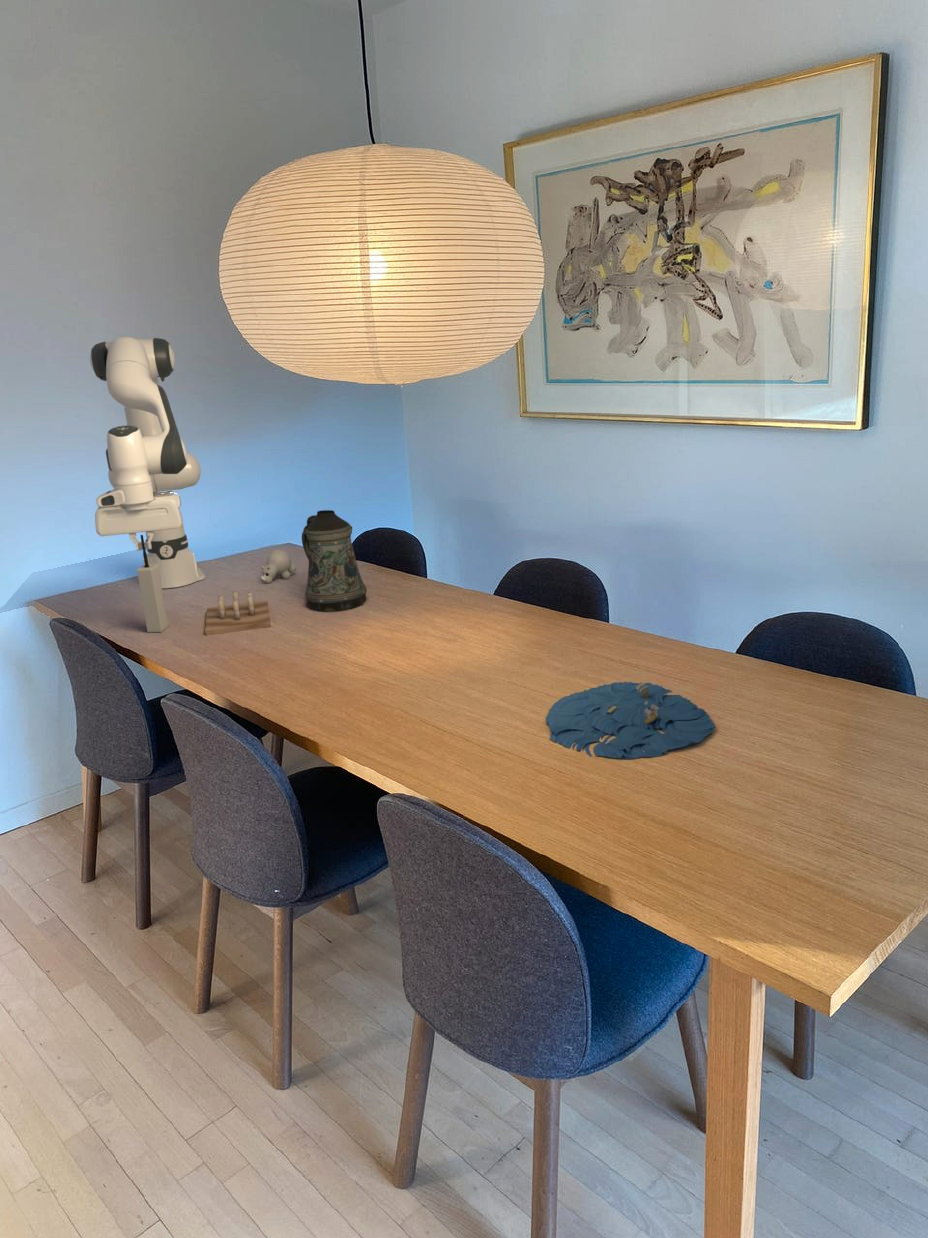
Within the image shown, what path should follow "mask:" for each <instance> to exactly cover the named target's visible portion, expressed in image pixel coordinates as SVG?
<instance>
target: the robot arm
mask: <svg viewBox="0 0 928 1238" xmlns="http://www.w3.org/2000/svg"><path fill="white" fill-rule="evenodd" d="M90 351H91V352H90V357H89V361H90V366H91V369H92V371H93V372H94V374H95V376H96V377H97V378H98V379H99V380H101V381H104V382H106V385H107V390H108V392H109V395H110V396H111V397H112V399H113V400H114V401H116V402H117V403H119V404H120V405H121V406H123V409H124V413H125V414H124V415H125V421H126V425H120V426H116V427H115V426H114V427H112V428H110V429H109V430H108V431H107V433H106V437H107V438H106V441H107V442H106V444H107V446H106V447H107V448H106V450H105V455H106V456H105V457H106V462H107V467H108V472H107V473H108V474H107V476H108V480H109V483H110V485H111V486H112V488H113V489H112V490H108V491H106V492H104V493H101V494H99V495H98V496H97V497H96V499H95V502H96V505H97V507H98V508H97V509H96V510H95V512H94V517H95V518H94V523H95V531H96V533H97V535H98V536H99V537H107V536H108V537H110V536H119V535H127V534H128V535H129V539H130V540H131V541H132V542H133V544H135V548H136V551H143V548H142V542H141V541H139V540H138V539H137V538H136V536H137V533H145V537H146V539H145V541H144V546H145V550H146V551H147V553H146V554H147V559H148V564H159V566H160V574H161V588H162V589H171V588H179V587H184V586H188V585H191V584H193V583H196V582H199V581H203V580H205V579H206V575H205V573H204V572H203V571H202V570H201V569H200V567H199V565H198V563H197V562H196V557H195V555H196V554H195V553H194V552H193V551H192V550H190V548H189V547H188V546H189V540H188V536H187V534H185V527H184V522H183V521H184V519H183V515H182V512H181V509H180V507H181V505H182V502H181V497H180V495H179V494H178V493H176V492H174V491H176V490H178V491H179V490H183V489H188V488H190V487H194V486H196V485H197V484H198V482H199V480H200V478H201V472H202V470H201V469H202V468H201V465H200V462H199V461H198V459H197V458H196V456H194V455H193V454H192V453H191V452H189V451H187V449H186V448H187V447H186V445H185V443H184V441H183V440H182V438H181V435H180V433H179V428H178V426H177V422H176V420H175V416H174V413H173V410H172V406H171V403H170V402H169V398H168V395H167V392H166V391H165V389H164V388H163V386H161V385H160V381H159V378H160V380H161V382H164V381H165V378H167V377H169V376H170V375H171V374H172V373H173V372H174V369H175V368H174V367H175V365H176V357H175V356H176V355H175V353H174V349H173V348H172V347H171V344H170V342H169V341H168V340H167V339H164V338H160V337H159V338H158V337H153V338H142V337H140V338H139V337H136V338H134V337H132V336H127V335H126V336H120V337H117V338H115V339H113V341H107V342H106V341H102V342H99V343H96V344H94V345H93V347H92V348H91V349H90ZM143 565H145V563H144V562H143Z"/></svg>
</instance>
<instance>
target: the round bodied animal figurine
mask: <svg viewBox="0 0 928 1238" xmlns="http://www.w3.org/2000/svg"><path fill="white" fill-rule="evenodd" d="M260 568H261V571H262V575H261V580H262V582H264V583H265V584H266V585H268V584H271V583H272V582H273V579H274V578H276V579H279V578H280V579H281V578H282V579H283V580H287V579H289V578H291V574H292V573H295V572H296V571H297V567H296V565H295V564H294V563H293V562H292V559H291V556H290V555H289V553H288V552H287V551H285V550H282V549H275V550H273V551H271V552H270V553H269V554H268V556H267V557H266V565H265V566H264V565H260Z"/></svg>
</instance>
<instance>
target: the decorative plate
mask: <svg viewBox="0 0 928 1238" xmlns="http://www.w3.org/2000/svg"><path fill="white" fill-rule="evenodd" d="M673 692H674V691H672V690H671V689H668V688H665V687H664V686H662V685H659V684H653V683H650V682H632V681H628V682H627V681H623V682H622V681H620V682H617V681H614V682H612V683H610V684H609V683H608V684H603V685H598V686H596V687H590V688H589V689H584V690H583V691H578V692H575V693H570V694H569V695H565V696H563V697H561V698H560V699H558V701H556V702H554V703H553V704H552V705H551V707H550V709H548V713H547V715H546V717H545V718H544V719H545V722H546V724H548V729H549V731H550V735H549V736H550V738H549V740H550V741H552V742H554V743H555V744H558V745H559V744H560V745H561V746H564V747H566V748H567V749H571V747H572V751H574V750H575V751H579V752H581V751H582V752H584V751H585V753H586V754H587V756H589V757H593V755H592V753H591V751H590V746H591V744H592V743H596V742H598V743H597V744H595V745H594V746H593V750H592V752H593V754H594V756H595V757H598V756H599V757H608V758H613V759H617V758H618V759H622V760H630V759H633V760H636V759H638V758H645V757H655V758H656V757H661V756H662V755H663V754H665V755H669V754H670V753H669V752H668V751H669V750H674V749H677V748H678V749H679V748H686V747H687V746H689V745H691V744H698V743H700V742H702V741H703V740H704V739H705V737H707V736H708V735H709V734H712V733H713V732H714V731H715V728H716V726H715V723H714V722H713V721H712V719H711V716H710V715H709V714H708V712H707V711H706V710H705V709H704V708H702V707H701V708H700V707H699V706H698V705H697V704H696V703H693V702H692V701H691V700H690V699H688V698H686V697H683V696H682V695H680V694H669V693H673ZM667 694H668V695H667ZM658 730H660V731H661V732H660V731H658ZM606 735H608V736H606ZM604 736H606V737H605V738H604V740H603V737H604ZM613 736H615V737H614V738H612V737H613ZM610 738H612V739H610ZM602 740H603V741H602ZM575 748H576V749H575Z"/></svg>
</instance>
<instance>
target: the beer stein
mask: <svg viewBox="0 0 928 1238" xmlns="http://www.w3.org/2000/svg"><path fill="white" fill-rule="evenodd" d="M316 513H317V514H316V515H315V514H313V515H311V516H310V515H309V516H308V518H307V520H306V525H305V526H304V528H303V530H302V533H301V543H302V548H303V551H304V552H305V553H304V554H305V555H306V557H307V559H308V571H307V572H308V574H307V585H306V590H305V593H304V596H305V601H306V603H307V607H308V608H309V610H312V611H315V612H318V613H336V612H337V613H338V612H345V611H350V610H354V609H356V608H360V607H361V606H364V604H365V603H366V602H367V601H366V600H367V598H366V597H367V596H366V595H367V590H368V589H367V586H366V585H365V583H364V582H363V579H362V576H361V574H360V570H359V567H358V563H357V558H356V554H355V550H354V546H353V543H352V539H351V538H352V536H351V535H352V534H353V526H352V525H351V524H350V523H349V522H348V521H347V520H344V519H343V518H341V517H340V516H338V515H337V514H336V513H335V510H332V509H331V510H330V509H324V510H318V511H317V512H316Z"/></svg>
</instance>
